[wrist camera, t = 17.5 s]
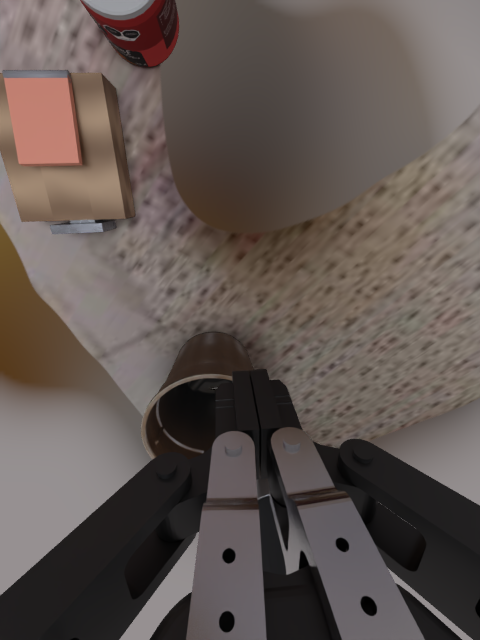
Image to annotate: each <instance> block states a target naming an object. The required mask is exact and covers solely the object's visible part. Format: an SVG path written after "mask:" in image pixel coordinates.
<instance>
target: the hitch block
mask: <svg viewBox="0 0 480 640" xmlns="http://www.w3.org/2000/svg"><path fill="white" fill-rule="evenodd" d="M70 75H71V79H72V90H73V97H74V105H75V112H76V119H77V127H78V134H79V142H80V149H81V157H82V164H83V165H74V166H22V165H20V164H19V162H18V156H17V150H16V145H15V139H14V133H13V127H12V122H11V116H10V110H9V104H8V99H7V93H6V87H5V81H4V77H3V74H2V73H0V151H1V155H2V158H3V161H4V165H5V168H6V171H7V175H8V178H9V181H10V185H11V188H12V191H13V194H14V198H15V201H16V204H17V208H18V211H19V214H20V218H21V221H22V222H29V221H63V220H97V219H126V218H130V217H134V216H135V211H134V204H133V198H132V191H131V185H130V178H129V172H128V165H127V159H126V153H125V146H124V140H123V133H122V127H121V120H120V114H119V107H118V101H117V95H116V88H115V87H114V86H113V85H112V84H111V83H110V82H109V81H108V80H107V79H106V78H105V76H104V75H103V74H102V73H70Z"/></svg>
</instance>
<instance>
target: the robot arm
mask: <svg viewBox="0 0 480 640" xmlns="http://www.w3.org/2000/svg"><path fill="white" fill-rule="evenodd" d="M380 503H381V504H380ZM383 505H384V506H385V507H384V506H383ZM387 508H388V509H387ZM390 510H391V511H390ZM394 513H395V514H394ZM397 515H398V516H397ZM400 517H401V518H402V519H401V518H400ZM404 520H405V521H404ZM407 522H408V523H407ZM410 524H411V525H412V526H411V525H410ZM414 527H415V528H414ZM197 532H199V539H198V546H197V555H196V563H195V571H194V579H193V587H192V592H191V593H189V594H188V595H187V596H185V597H184V598H183V599H182V600H180V601H179V602H178V603H177V604H176V605H175V606H174V607H173V608H172V609H171V610H170V611H169V613H168V614H167V615H166V616H165V618H164V619H163V620H162V622H161V623H160V625H159V626H158V627H157V629H156V631H155V632H154V634H153V635H152V637H151V638H150V640H462V639H461V638H460V637H459V636H457V635H456V634H455V633H454V632H453V631H452V630H451V629H450V628H448V627H447V626H446V625H445V624H444V623H443V622H442V621H441V620H440V619H438V618H437V617H436V616H435V615H434V614H433V613H432V612H431V611H430V610H428V609H427V608H426V607H425V606H424V605H423V604H422V603H421V602H420V601H418V600H417V599H416V598H415V597H414V596H413V595H411V594H410V593H409V592H408V591H406V590H405V589H404V588H402V587H401V586H400V585H398V584H396V583H395V582H394V580H393V578H392V576H391V574H390V572H389V570H388V568H389V569H390V570H391V571H392V572H394V573H395V574H396V575H397V576H398V577H399V578H400V579H402V580H403V581H404V582H405V583H406V584H408V585H409V586H410V587H411V588H412V589H414V590H415V591H416V592H417V593H418V594H419V595H421V596H422V597H423V598H424V599H425V600H427V601H428V602H429V603H430V604H431V605H433V606H434V607H435V608H436V609H437V610H438V611H440V612H441V613H442V614H443V615H444V616H446V617H447V618H448V619H449V620H450V621H452V622H453V623H454V624H455V625H456V626H458V627H459V628H460V629H461V630H462V631H463V632H465V633H466V634H467V635H468V636H469V637H471V638H472V639H473V640H480V506H479V505H478V504H476V503H474V502H472V501H471V500H469V499H467V498H466V497H464V496H462V495H460V494H459V493H457V492H455V491H453V490H452V489H450V488H448V487H447V486H445V485H443V484H441V483H439V482H438V481H436V480H434V479H432V478H431V477H429V476H427V475H426V474H424V473H422V472H420V471H418V470H417V469H415V468H414V467H412V466H410V465H408V464H407V463H405V462H403V461H401V460H400V459H398V458H396V457H394V456H393V455H391V454H389V453H388V452H386V451H384V450H382V449H381V448H379V447H377V446H375V445H374V444H372V443H370V442H367V441H365V440H361V439H350V440H347V441H345V442H343V443H342V445H341V446H340V449H338V448H333V447H328V446H323V445H320V444H317V443H315V442H313V441H312V439H311V438H310V436H309V435H308V434H307V433H306V432H304V431H303V430H302V428H301V425H300V422H299V419H298V417H297V414H296V411H295V409H294V406H293V404H292V400H291V398H290V395H289V392H288V389H287V387H286V386H285V385H284V384H283V383H282V382H281V381H280V380H269V377H268V373H267V370H266V369H258V370H250V371H249V370H242V371H232V383H221V384H220V385H219V387H218V388H217V390H216V435H215V441H214V443H213V445H212V446H211V448H210V449H209V450H207V451H206V452H205V453H203V454H201V455H199V456H197V457H194V458H191V459H187V458H186V457H185V456H184V455H182V454H180V453H177V452H168V453H164V454H161V455H159V456H157V457H155V458H154V459H153V460H152V461H150V462H149V463H148V464H147V465H146V466H145V467H144V468H143V469H142V470H140V471H139V472H138V473H137V474H136V475H135V476H134V477H133V478H131V479H130V480H129V481H128V482H127V483H126V484H125V485H124V486H122V487H121V488H120V489H119V490H118V491H117V492H116V493H115V494H114V495H112V496H111V497H110V498H109V499H108V500H107V501H106V502H105V503H103V504H102V505H101V506H100V507H99V508H98V509H97V510H96V511H95V512H93V513H92V514H91V515H90V516H89V517H88V518H87V519H86V520H85V521H83V522H82V523H81V524H80V525H79V526H78V527H77V528H76V529H74V530H73V531H72V532H71V533H70V534H69V535H68V536H67V537H65V538H64V539H63V540H62V541H61V542H60V543H59V544H58V545H57V546H55V547H54V549H52V550H51V551H50V552H49V553H48V554H46V555H45V556H44V557H43V558H42V559H41V560H40V561H39V562H38V563H36V565H34V566H33V567H32V568H31V569H30V570H29V571H27V572H26V573H25V574H24V575H23V576H22V577H21V578H20V579H18V580H17V581H16V582H15V583H14V584H13V585H12V586H11V587H10V588H8V589H7V590H6V591H5V592H4V593H3V594H2V595H1V596H0V640H119V639H120V638H121V636H122V635H123V634H124V632H125V631H126V630H127V628H128V627H129V625H130V624H131V623H132V622H133V620H134V619H135V617H136V616H137V615H138V614H139V612H140V611H141V610H142V608H143V607H144V605H145V604H146V603H147V601H148V600H149V599H150V597H151V596H152V595H153V593H154V592H155V591H156V589H157V588H158V587H159V585H160V584H161V582H162V581H163V580H164V579H165V577H166V576H167V575H168V573H169V572H170V571H171V569H172V568H173V566H174V565H175V564H176V563H177V561H178V560H179V559H180V557H181V556H182V554H183V553H184V552H185V550H186V549H187V548H188V546H189V545H190V544H191V542H192V541H193V539H194V538H195V536H196V533H197Z"/></svg>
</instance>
